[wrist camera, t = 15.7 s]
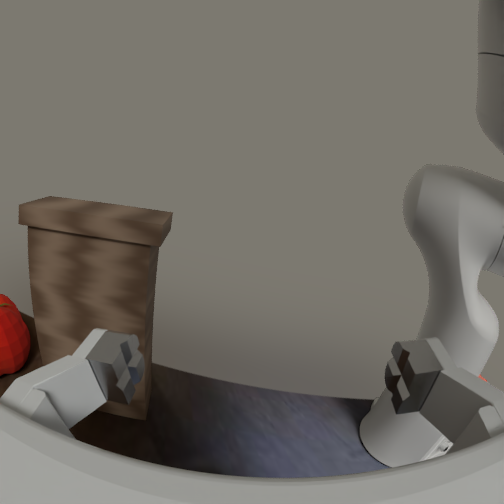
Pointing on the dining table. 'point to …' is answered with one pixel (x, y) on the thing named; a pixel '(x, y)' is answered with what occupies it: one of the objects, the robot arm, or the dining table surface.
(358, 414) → the dining table surface
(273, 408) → the dining table surface
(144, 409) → the walnut stand
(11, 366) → the tomato
